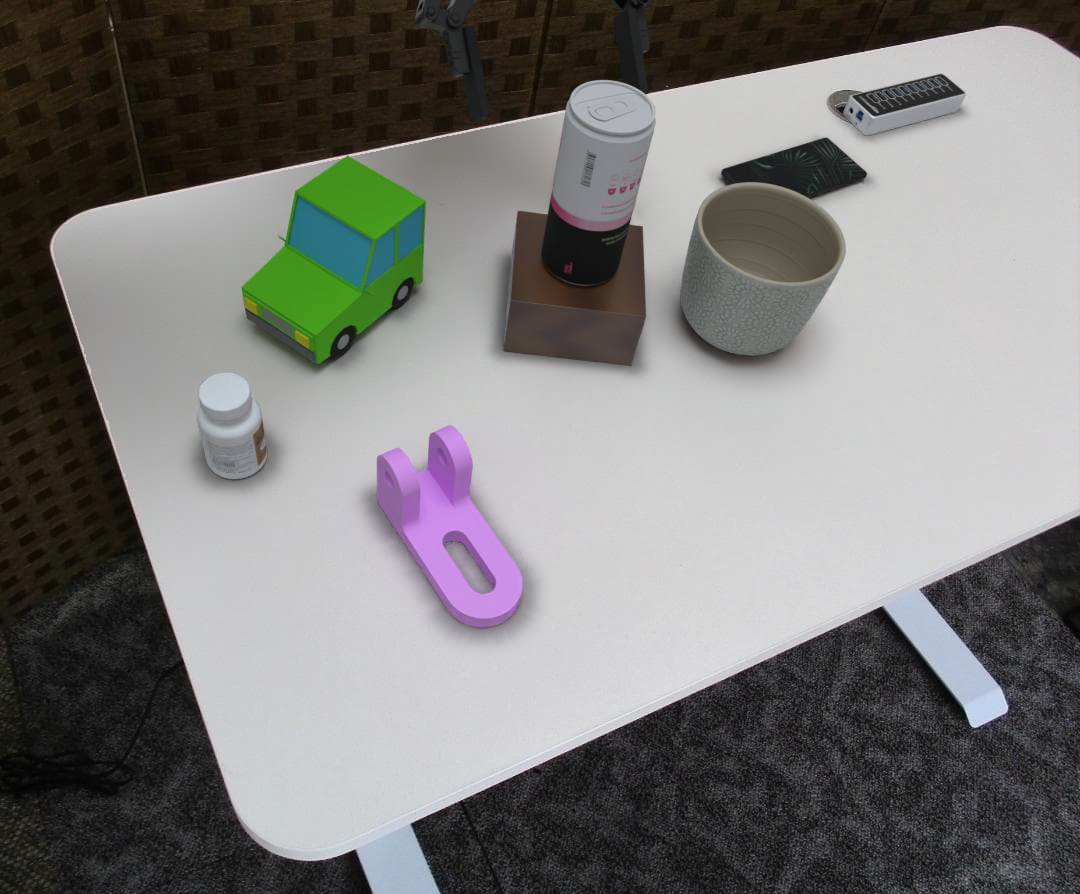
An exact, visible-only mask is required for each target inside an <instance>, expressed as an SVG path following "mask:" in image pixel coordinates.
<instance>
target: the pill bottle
mask: <svg viewBox="0 0 1080 894" xmlns="http://www.w3.org/2000/svg"><path fill="white" fill-rule="evenodd" d="M198 400H199V408H198V409H197V414H196V422H197V427H198V431H199V433H200V439H201V443H202V446H203V452H204V456H205V460H206V463H207V465H208V468H209V469H210V470H211V471H212V472H213V473H214V474H216V475H217V476H219V477H221V478H223V479H224V478H225V479H229V480H240V479H244V478H245V479H246V478H248V477H250V476H253V475H254V474H256V473H257V472H258V471H260V469H262V468H263V466H264V465H265V463H266V461H267V458H268V446H267V440H266V434H265V433H266V432H265V427H264V422H263V414H262V409H261V406H260V404H259V403H258V401H257V400H256V398H255V397H253V396H252V390H251V386H250V384H249V382H248V381H247V380H246V379H245V378H244V377H243V376H242V375H240V374H237V373H233V372H219V373H215V374H213V375H210V376H209V377H207V378H206V379H205V380H204V381H203V382H202V383H201V384H200V386H199V388H198Z"/></svg>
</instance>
